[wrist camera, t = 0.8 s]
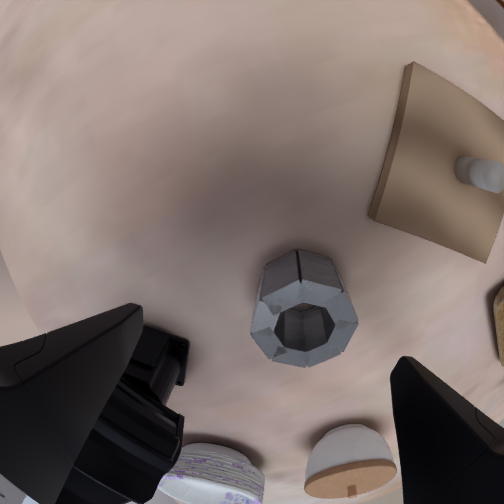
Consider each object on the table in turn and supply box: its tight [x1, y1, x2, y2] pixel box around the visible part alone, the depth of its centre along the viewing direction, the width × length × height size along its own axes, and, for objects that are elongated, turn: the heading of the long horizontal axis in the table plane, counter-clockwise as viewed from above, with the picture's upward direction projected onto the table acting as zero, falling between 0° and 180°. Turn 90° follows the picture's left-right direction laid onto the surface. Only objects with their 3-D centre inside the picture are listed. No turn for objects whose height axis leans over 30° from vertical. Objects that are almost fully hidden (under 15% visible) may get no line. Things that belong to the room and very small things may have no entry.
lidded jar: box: [304, 424, 397, 499], centre depth 24 cm, size 11×11×9 cm
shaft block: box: [368, 61, 504, 264], centre depth 14 cm, size 12×12×6 cm
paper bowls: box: [157, 443, 265, 504], centre depth 29 cm, size 15×15×8 cm
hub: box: [250, 249, 358, 368], centre depth 19 cm, size 6×6×5 cm
